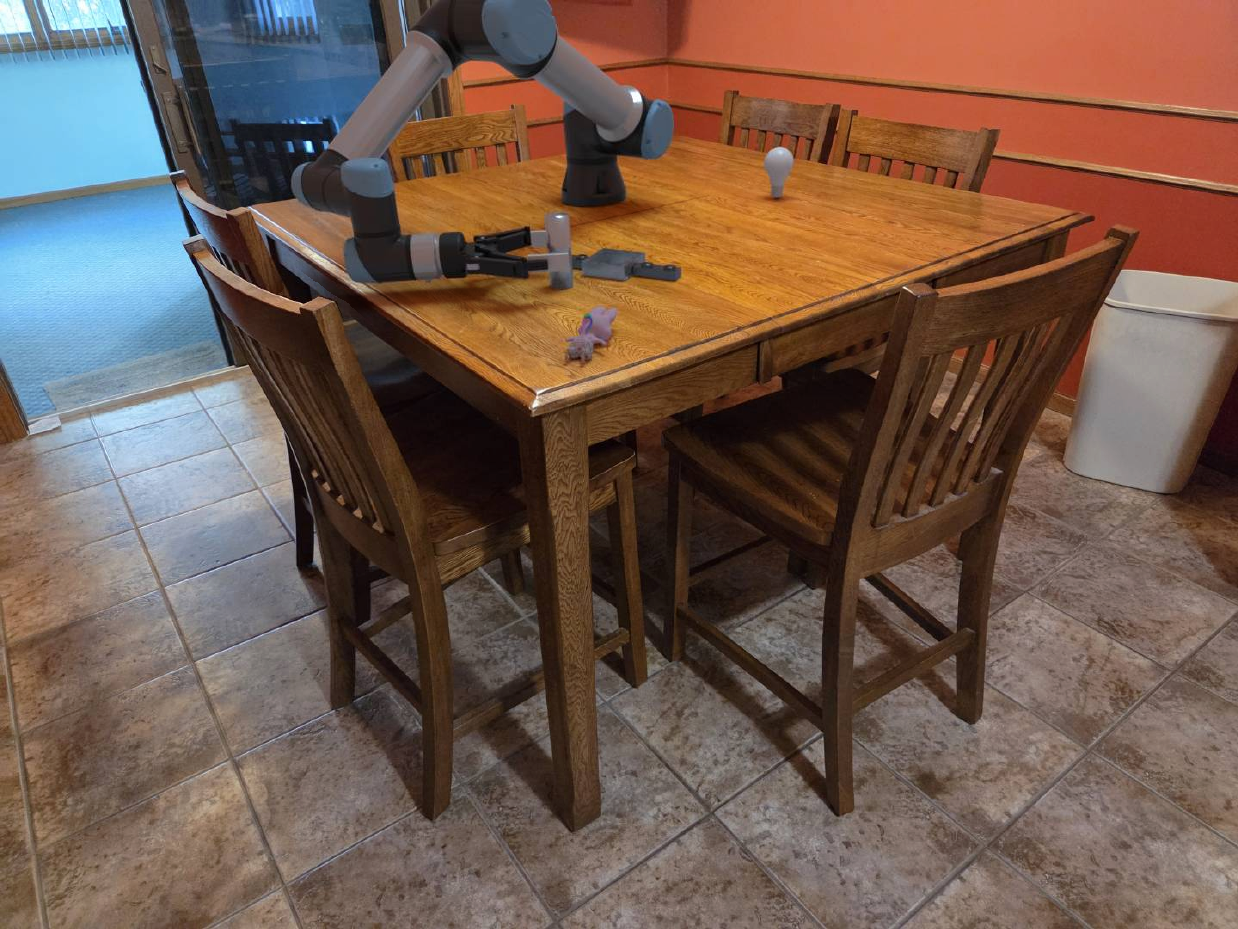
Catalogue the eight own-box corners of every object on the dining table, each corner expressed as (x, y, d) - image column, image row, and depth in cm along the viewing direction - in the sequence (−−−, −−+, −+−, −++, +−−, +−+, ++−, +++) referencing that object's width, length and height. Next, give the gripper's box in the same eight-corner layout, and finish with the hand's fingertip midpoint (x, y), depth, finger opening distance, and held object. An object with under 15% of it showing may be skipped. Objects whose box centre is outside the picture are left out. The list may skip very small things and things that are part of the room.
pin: (546, 287, 139) (539, 216, 133) (557, 280, 142) (552, 210, 136) (566, 290, 137) (561, 218, 131) (577, 283, 140) (573, 212, 134)
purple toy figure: (596, 376, 112) (630, 320, 122) (592, 339, 108) (627, 284, 118) (555, 371, 114) (592, 316, 124) (548, 334, 110) (587, 281, 120)
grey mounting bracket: (542, 270, 147) (541, 256, 146) (565, 256, 153) (564, 243, 152) (668, 286, 137) (668, 272, 136) (687, 271, 143) (687, 257, 142)
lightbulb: (789, 194, 186) (793, 144, 181) (792, 201, 181) (795, 149, 175) (761, 195, 187) (764, 144, 181) (763, 202, 182) (765, 150, 176)
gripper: (453, 255, 148) (569, 248, 149) (435, 304, 127) (570, 296, 127) (447, 213, 144) (566, 207, 145) (427, 256, 123) (567, 248, 123)
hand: (568, 248), depth 136 cm, fingers open, 13 cm apart
